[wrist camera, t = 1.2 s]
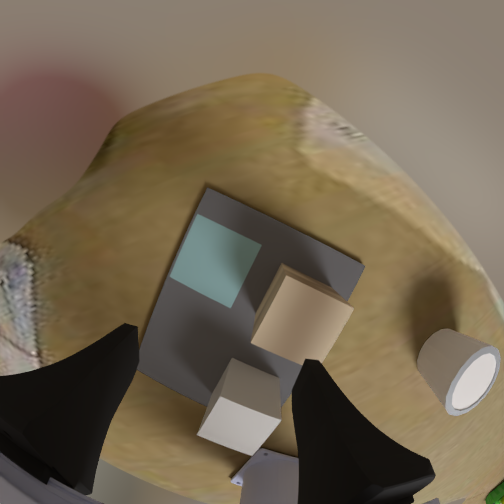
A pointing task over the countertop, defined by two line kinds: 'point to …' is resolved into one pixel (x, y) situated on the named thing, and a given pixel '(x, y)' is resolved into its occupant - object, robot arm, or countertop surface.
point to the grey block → (242, 408)
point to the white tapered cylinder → (458, 369)
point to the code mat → (229, 296)
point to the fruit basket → (496, 495)
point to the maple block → (299, 317)
